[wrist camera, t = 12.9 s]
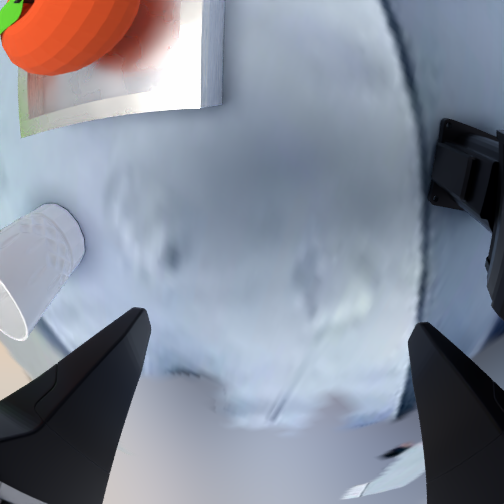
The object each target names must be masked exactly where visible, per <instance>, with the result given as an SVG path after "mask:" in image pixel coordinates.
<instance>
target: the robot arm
mask: <svg viewBox="0 0 504 504" xmlns="http://www.w3.org/2000/svg"><path fill="white" fill-rule="evenodd" d="M447 123H449V127H448V128H447V126H446V125H447ZM431 177H432V180H431V185H430V190H429V194H428V201H429V202H430V203H431V204H433V205H436V206H442V207H448V208H453V209H459V210H464V211H466V212H468V213H469V214H470V215H471V216H472V217H474V218H475V219H476V220H477V221H478V222H479V223H481V224H482V225H483V226H484V227H485V228H486V229H487V230H488V231H490V232H491V233H492V239H491V245H490V250H489V255H488V257H487V258H486V263H485V267H486V270H487V272H488V275H487V288H488V291H489V294H490V296H491V299H492V304H491V306H492V308H493V309H494V310H495V312H496V313H497V314H498V316H499V317H500V318H501V319H502V320H504V130H497V137H495V136H493V135H490V134H488V133H486V132H483V131H481V130H478V129H476V128H473V127H471V126H468V125H465V124H463V123H460V122H457V121H454V120H451V119H448V118H444V119H443V120H442V121H441V127H440V135H439V141H438V145H437V148H436V154H435V160H434V165H433V171H432V176H431ZM434 196H436V198H435V199H434V200H433V197H434ZM150 334H151V325H150V321H149V318H148V314H147V311H146V310H145V309H144V308H138V307H133V308H132V309H130V310H129V311H127V312H126V313H125V314H123V315H122V316H120V317H119V318H118V319H116V320H115V321H114V322H112V323H111V324H109V325H108V326H107V327H105V328H104V329H103V330H101V331H100V332H98V333H97V334H96V335H94V336H93V337H92V338H90V339H89V340H87V341H86V342H85V343H83V344H82V345H81V346H79V347H78V348H77V349H75V350H74V351H73V352H71V353H70V354H69V355H67V356H66V357H65V358H63V359H62V360H61V361H59V362H58V364H55V365H54V366H53V367H51V368H50V369H49V370H47V371H46V372H44V373H43V374H42V375H40V376H39V377H37V378H36V379H34V380H33V381H31V382H30V383H28V384H27V385H25V386H24V387H22V388H20V389H19V390H17V391H16V392H14V393H12V394H11V395H9V396H7V397H6V398H4V399H2V400H1V401H0V504H102V503H103V499H104V494H105V491H106V486H107V482H108V479H109V475H110V474H109V473H110V471H111V467H112V463H113V460H114V456H115V452H116V449H117V446H118V443H119V439H120V436H121V433H122V429H123V426H124V423H125V420H126V417H127V413H128V410H129V407H130V404H131V401H132V398H133V395H134V392H135V389H136V386H137V383H138V381H139V378H140V375H141V371H142V368H143V363H144V359H145V355H146V350H147V346H148V342H149V338H150ZM408 349H409V356H410V364H411V373H412V381H413V387H414V392H415V397H416V403H417V408H418V414H419V420H420V427H421V434H422V441H423V450H424V459H425V470H426V483H427V484H426V486H427V504H504V391H503V390H502V389H501V388H500V387H499V386H498V385H497V384H496V383H495V382H494V381H493V380H492V379H491V378H490V377H489V376H488V375H487V374H486V373H485V372H483V370H481V369H480V368H479V367H478V366H477V365H476V364H475V363H474V362H473V361H472V360H471V359H470V358H469V357H467V356H466V355H465V354H464V353H463V352H462V351H461V350H460V349H459V348H457V347H456V346H455V345H454V344H453V343H452V342H451V341H450V340H448V339H447V338H446V337H445V336H444V335H443V334H442V333H440V332H439V331H438V330H437V329H436V328H435V327H433V326H432V325H431V324H430V323H428V322H419V323H417V324H416V326H415V328H414V330H413V332H412V334H411V336H410V338H409V340H408Z"/></svg>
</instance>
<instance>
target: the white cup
mask: <svg viewBox="0 0 504 504" xmlns="http://www.w3.org/2000/svg"><path fill="white" fill-rule="evenodd" d="M84 253H85V247H84V237H83V234H82V232H81V230H80V227H79V225H78V223H77V221H76V220H75V219H74V218H73V217H72V215H71V214H70V213H69V212H68V211H67V210H66V209H64V208H62V207H61V206H59V205H57V204H43V205H42V206H40V207H38V208H37V209H35V210H33V211H32V212H30V213H29V214H27V215H25V216H22V217H20V218H18V219H17V220H15V221H14V222H12V223H11V224H9V225H7V226H6V227H4V228H2V229H1V230H0V331H2V332H3V333H4V334H6V335H7V336H9V337H10V338H12V339H15V340H17V341H25V340H26V339H27V338H28V336H29V335H30V333H31V332H32V330H33V328H34V327H35V325H36V324H37V322H38V321H39V319H40V318H41V316H42V315H43V314H44V312H45V311H46V309H47V308H48V307H49V305H50V304H51V302H52V301H53V300H54V298H55V297H56V295H57V294H58V292H59V291H60V289H61V288H62V287H63V286H64V284H65V283H66V281H67V280H68V278H69V276H70V275H71V273H72V272H73V271H74V270H75V268H76V267H77V266H78V265H79V264H80V262H81V260H82V257H83V255H84Z"/></svg>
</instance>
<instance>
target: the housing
mask: <svg viewBox="0 0 504 504" xmlns="http://www.w3.org/2000/svg"><path fill="white" fill-rule="evenodd" d="M224 12H225V0H141V1H140V5H139V9H138V13H137V15H136V17H135V19H134V21H133V23H132V25H131V27H130V28H129V30H128V31H127V32H126V34H125V35H124V37H123V38H122V39H121V40H120V41H119V42H118V43H117V44H116V45H115V46H114V47H113V48H112V50H111V51H109V52H108V53H106V54H105V55H103V56H102V57H101V58H99V59H98V60H96V61H95V62H93V63H92V64H90V65H88V66H86V67H83V68H81V69H79V70H77V71H73V72H69V73H65V74H59V75H54V76H48V75H39V74H33V73H28V72H27V71H25V70H23V69H22V68H20V67H18V102H19V119H20V131H21V138H23V137H26V136H30V135H33V134H37V133H40V132H44V131H47V130H51V129H55V128H59V127H63V126H68V125H72V124H77V123H81V122H86V121H91V120H97V119H102V118H108V117H114V116H121V115H128V114H135V113H143V112H152V111H163V110H175V109H190V108H203V107H210V106H217V105H222V83H223V40H224Z"/></svg>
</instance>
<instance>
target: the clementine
mask: <svg viewBox="0 0 504 504" xmlns="http://www.w3.org/2000/svg"><path fill="white" fill-rule="evenodd" d="M140 1H141V0H8V1H7V4H6V5H5V6H4V7H3V8H2V9H1V11H0V35H1V41H2V46H3V48H4V50H5V51H6V53H7V55H8V56H9V58H10V60H11V61H12V63H14V64H15V65H17V66H18V67H20V68H22V69H23V70H25V71H27V72H28V73H33V74H39V75H48V76H54V75H59V74H65V73H69V72H73V71H77V70H79V69H81V68H83V67H86V66H88V65H90V64H92V63H93V62H95V61H96V60H98V59H99V58H101V57H102V56H103V55H105V54H106V53H108V52H109V51H111V50H112V48H113V47H114V46H115V45H116V44H117V43H118V42H119V41H120V40H121V39H122V38H123V37H124V35H125V34H126V32H127V31H128V30H129V28H130V27H131V25H132V23H133V21H134V19H135V17H136V15H137V13H138V9H139V5H140Z"/></svg>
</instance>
